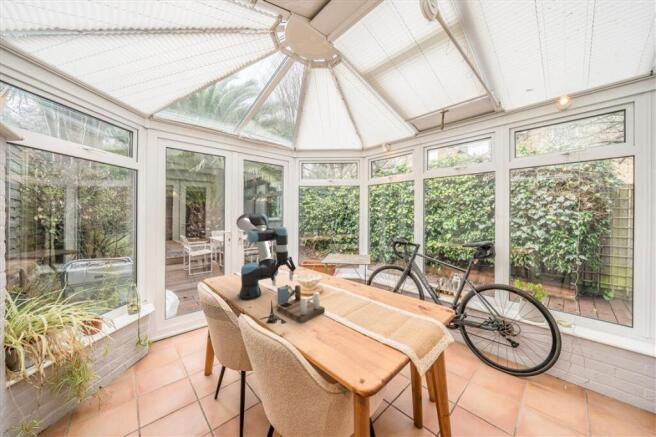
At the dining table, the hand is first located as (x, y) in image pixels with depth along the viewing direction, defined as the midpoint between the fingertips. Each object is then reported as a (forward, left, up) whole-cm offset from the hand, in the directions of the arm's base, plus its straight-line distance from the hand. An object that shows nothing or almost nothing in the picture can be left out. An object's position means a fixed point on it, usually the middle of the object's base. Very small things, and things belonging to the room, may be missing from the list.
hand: (282, 282), depth 157 cm
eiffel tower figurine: (+15, -17, -15) cm, 27 cm away
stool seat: (+17, +1, -14) cm, 22 cm away
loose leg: (0, 0, -14) cm, 14 cm away
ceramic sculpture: (-10, +10, -15) cm, 20 cm away
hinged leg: (+26, +1, -11) cm, 28 cm away
